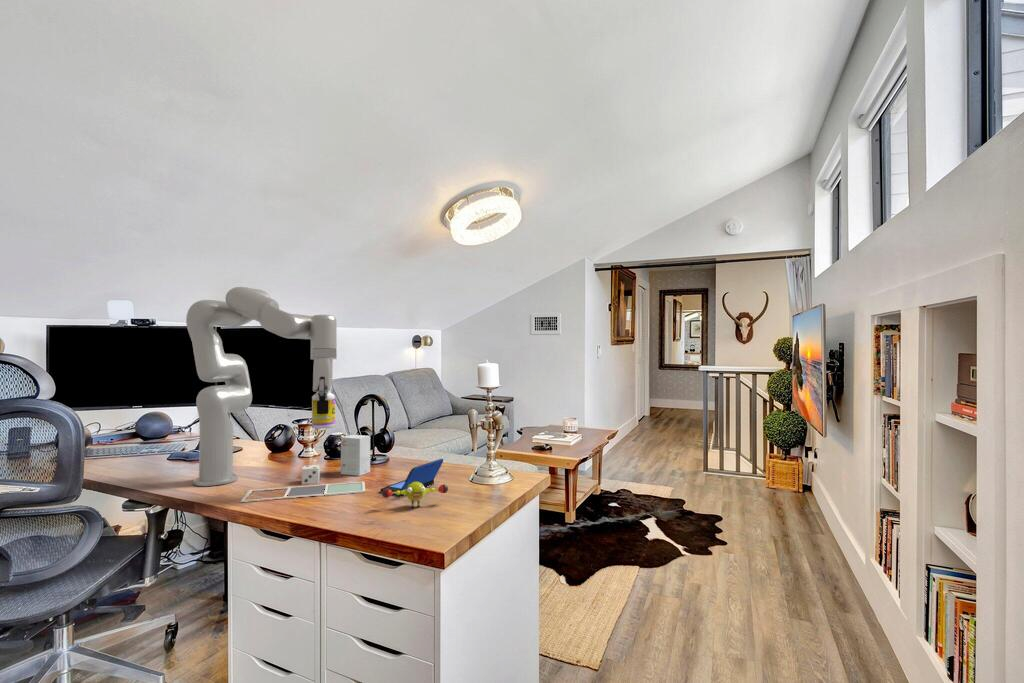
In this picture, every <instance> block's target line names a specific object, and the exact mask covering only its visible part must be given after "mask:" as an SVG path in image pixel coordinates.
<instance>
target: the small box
mask: <svg viewBox="0 0 1024 683" xmlns="http://www.w3.org/2000/svg"><path fill="white" fill-rule="evenodd" d="M368 473H371V435H362V434H350V435H345V436H342V437H341V436H340V475H346V476H347V475H348V476H358V477H360V476H363V475H366V474H368Z"/></svg>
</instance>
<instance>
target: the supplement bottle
mask: <svg viewBox="0 0 1024 683" xmlns="http://www.w3.org/2000/svg"><path fill="white" fill-rule="evenodd" d="M332 386H333V385H332ZM332 386H331V389H330V391H328V397H327V400H328V414H317V401H318V400H317V398H318V388H317V390H316V393H315V394H313V395H312V396H311V426H312V427H311V428H313V429H314V430H315V429H318V430H319V429H321V430H323V429H332V428H334V427H335V426H336V396H335V395H334V393H332V388H333V387H332ZM324 390H326V389H324Z"/></svg>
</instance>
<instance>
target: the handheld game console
mask: <svg viewBox="0 0 1024 683" xmlns="http://www.w3.org/2000/svg"><path fill="white" fill-rule="evenodd" d="M443 463H444V459H443V458H439V459H436V460H433V461H431V462H426V463H424V464H420V465H418V466H415V467H413V468H411V470H410V471H409V473H408V475H407V477H406V478H405V479H404V480H401V481H399V482H396V483H392V484H389V485H387V486H385V487H382V488H380V490H379V491H380V493H381V492H383V490H384V489H390V490H391V491H392V492H397V491H403V490H406V489H407V487H408V485H409V484H410V483H412V482H420V483H422V484H423V485H424V487H426V488H428V487H427V486H429V485H432V484H433V485H435V482H434V481H435V478H436V476H437V475H438V473H439V471H440V469H441V466H442V464H443ZM433 485H432V486H433ZM429 487H430V486H429ZM395 495H397V494H392V495H391V496H395ZM400 496H403V497H405V496H404V494H399V495H397V496H396V497H400Z"/></svg>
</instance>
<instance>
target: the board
mask: <svg viewBox="0 0 1024 683" xmlns="http://www.w3.org/2000/svg"><path fill="white" fill-rule="evenodd" d="M291 488H292V489H291ZM274 489H286V492H284V493H285V494H284V495H283V496H278V497H266V498H265V497H264V498H254V499H253V498H252V499H248V498H249V497H250V495H251V494H252V493H253V492H252V491H261V492H263V491H262V490H273V491H275V490H274ZM324 489H325V490H324ZM251 492H252V493H251ZM363 492H365V493H366V484H365V481H353V482H349V481H348V482H339V483H338V482H336V483H325V484H308V485H298V486H297V485H295V486H286V487H271V488H270V487H269V488H260V489H259V488H258V489H249V490H248V491H247V492H246V494H245V495H244V496H243V497H242V498H241V500H240V503H241V502H244V501H257V500H269V499H281V500H283V499H282V498H294V499H297V498H296V497H306V498H310V497H309V496H318V497H325V496H324V495H330V496H340V495H339V494H342V495H351V493H354V494H364V493H363ZM250 493H251V494H250ZM323 493H324V494H323ZM249 494H250V495H249ZM287 495H288V496H287ZM247 497H248V498H247ZM246 498H247V499H246ZM245 499H246V500H245ZM269 501H270V500H269ZM257 502H258V501H257Z"/></svg>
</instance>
